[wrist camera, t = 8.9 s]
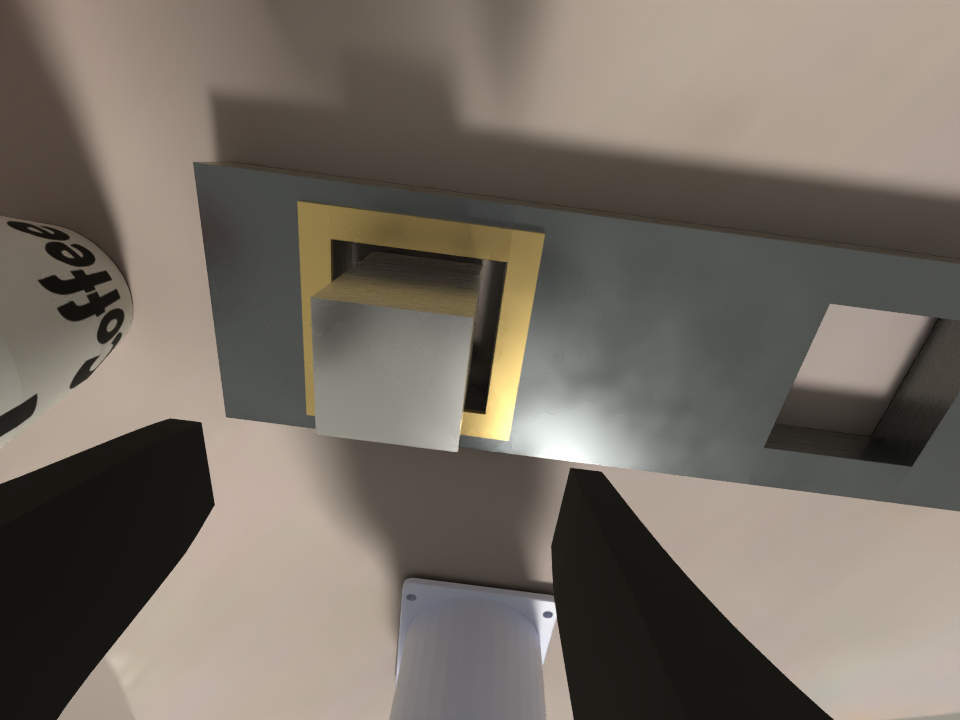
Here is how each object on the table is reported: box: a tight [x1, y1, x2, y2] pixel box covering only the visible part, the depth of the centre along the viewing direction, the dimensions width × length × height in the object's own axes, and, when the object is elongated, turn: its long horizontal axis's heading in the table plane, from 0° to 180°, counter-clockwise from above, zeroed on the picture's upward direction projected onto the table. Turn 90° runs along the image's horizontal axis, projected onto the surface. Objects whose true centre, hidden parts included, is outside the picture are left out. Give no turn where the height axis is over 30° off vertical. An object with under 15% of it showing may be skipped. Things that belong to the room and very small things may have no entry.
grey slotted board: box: [193, 162, 960, 511], centre depth 16 cm, size 9×30×2 cm, turn 83°
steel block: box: [310, 251, 483, 452], centre depth 15 cm, size 4×4×6 cm
